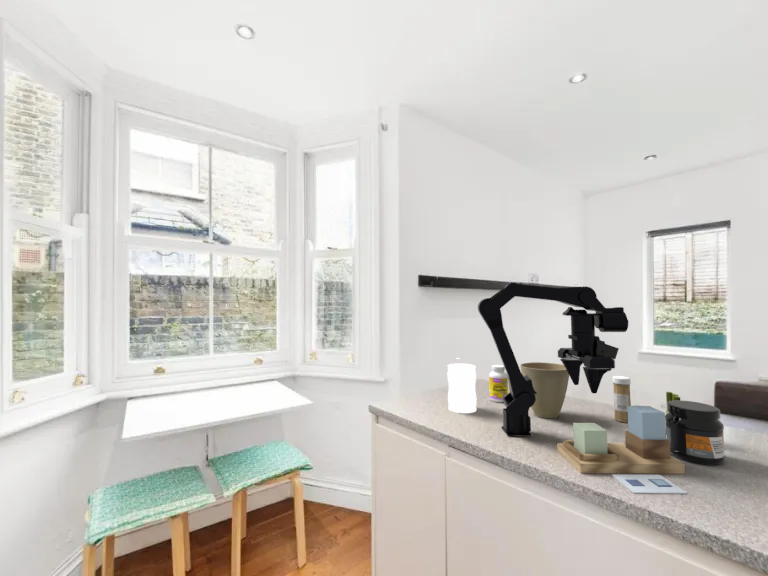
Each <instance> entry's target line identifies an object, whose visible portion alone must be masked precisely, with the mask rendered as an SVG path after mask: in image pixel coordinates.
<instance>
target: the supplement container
mask: <svg viewBox="0 0 768 576" xmlns="http://www.w3.org/2000/svg"><path fill="white" fill-rule="evenodd" d="M667 410H668V411H669V412H668V413H667V414H666V413H665V420H666V439H668V440H670V451H671V455H673V456H674V457H675V458H679V459H681V460H683V461H686V462H690V463H694V464H699V465H705V466H706V465H707V466H716V465H720V464H722V463H724V462H725V459H726V455H725V444H724V442H725V441H724V440H725V439H724V429H725V426H724V423H723V422H722V421H721V420H720V419H721V410H720V409H719V408H718V407H716V406H714V405H711V404H707V403H703V402H698V401H697V402H696V401H691V400H683V399H682V400H681V399H680V400H674V401H669V402H667V401H666V411H667Z"/></svg>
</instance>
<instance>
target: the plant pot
mask: <svg viewBox="0 0 768 576" xmlns="http://www.w3.org/2000/svg"><path fill="white" fill-rule="evenodd" d="M519 368H520V371H521V373H522V375H523V377H524V376H526V375H527V376H528V377H529V378H530V379H531V381H532V385H533V388H534V390H535V391H536V393H537V394H535V398H536V401H535V403H534V405H533V406H532V407H530V408H531V410H532V412H533V414H534V416H537V417H539V418H545V419H556V418H558V417H559V416H560V413H561V411H562V408H563V405H564V402H565V398H566V396H567V395H566V394H567V391H568V386H569V385H568V384H569V379H570V376H569V374H568V372H567V370H566V368H565V366H564V365H563V363H554V362H553V363H551V362H542V361H541V362H540V361H539V362H537V361H536V362H524V363H520V367H519Z"/></svg>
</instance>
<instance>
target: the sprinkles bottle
mask: <svg viewBox="0 0 768 576" xmlns="http://www.w3.org/2000/svg"><path fill="white" fill-rule="evenodd" d="M612 384H613V409H614V418H613V419H614V420H615V421H616V422H619V423H627V424H628V406H632V401H631V387H630V386H631V378H630V377H628V376H623V375H613V376H612Z"/></svg>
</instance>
